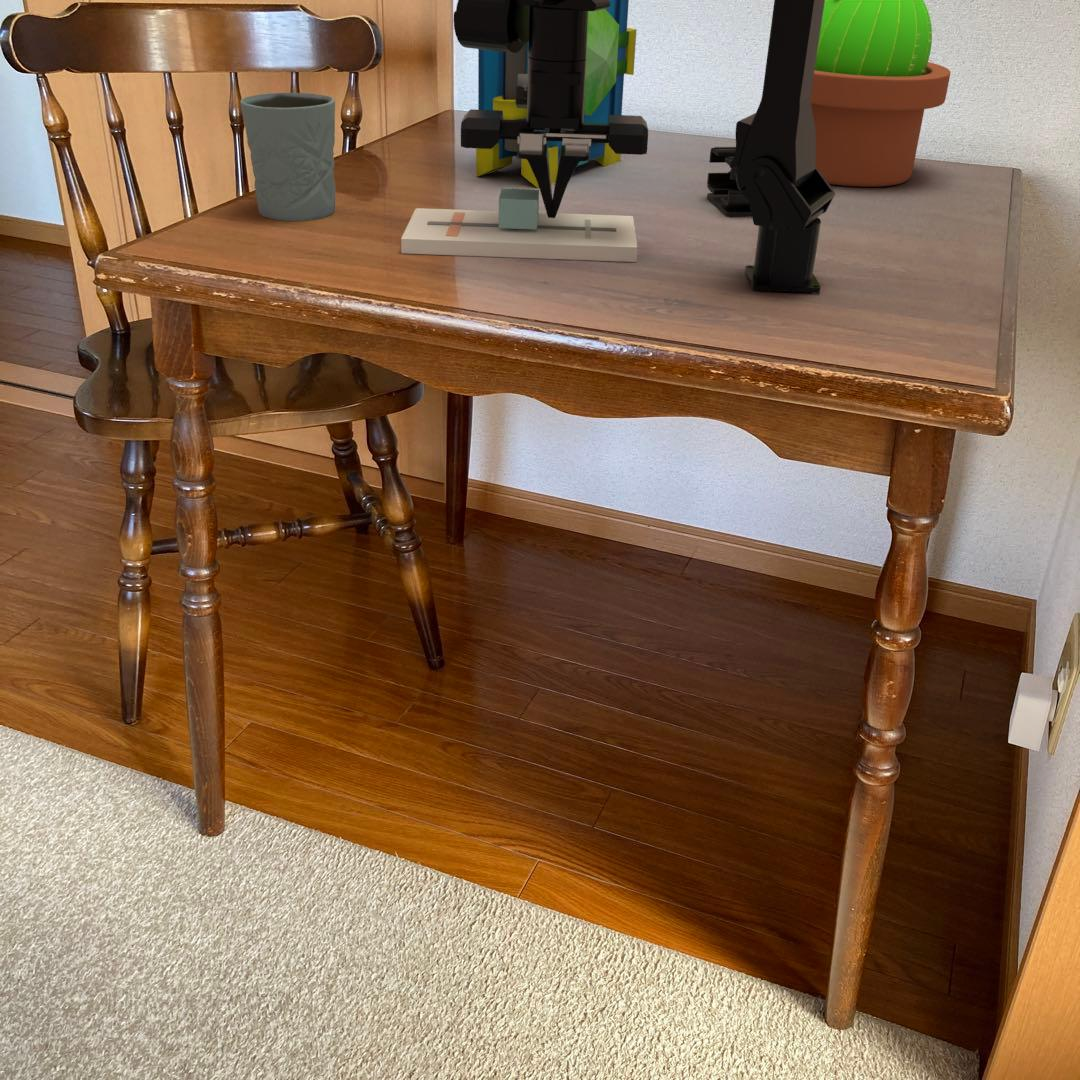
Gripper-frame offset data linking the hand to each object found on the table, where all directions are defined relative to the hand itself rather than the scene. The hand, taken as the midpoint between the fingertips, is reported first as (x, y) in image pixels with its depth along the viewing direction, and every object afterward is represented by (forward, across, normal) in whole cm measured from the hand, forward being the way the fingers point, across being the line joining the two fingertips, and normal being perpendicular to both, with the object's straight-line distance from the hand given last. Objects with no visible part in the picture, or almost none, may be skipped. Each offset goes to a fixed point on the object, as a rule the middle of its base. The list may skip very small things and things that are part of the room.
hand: (551, 217), depth 119 cm
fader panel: (+3, +3, 0) cm, 4 cm away
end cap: (+3, -23, -18) cm, 29 cm away
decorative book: (+3, +1, -34) cm, 34 cm away
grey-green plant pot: (+3, +29, -9) cm, 31 cm away
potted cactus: (+3, -39, -38) cm, 54 cm away
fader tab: (+1, +4, 0) cm, 4 cm away
